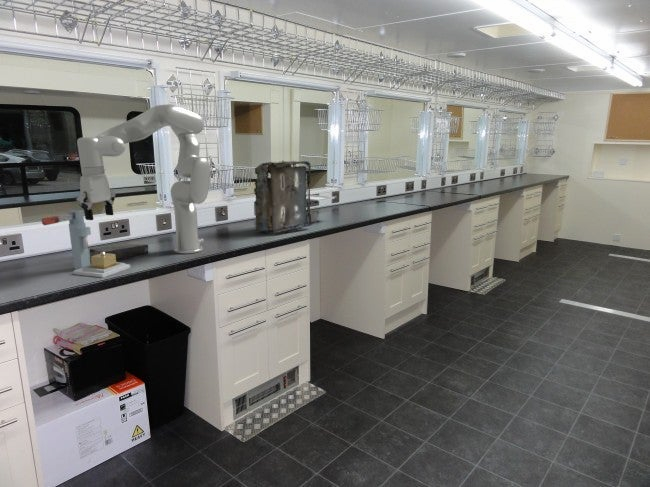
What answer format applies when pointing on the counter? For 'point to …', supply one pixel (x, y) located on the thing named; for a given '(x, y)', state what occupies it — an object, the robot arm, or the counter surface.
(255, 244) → the counter surface
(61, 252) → the counter surface
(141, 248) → the stone block
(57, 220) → the lever
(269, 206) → the machinery component
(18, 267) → the counter surface
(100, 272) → the press
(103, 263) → the housing
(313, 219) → the solar panel model
